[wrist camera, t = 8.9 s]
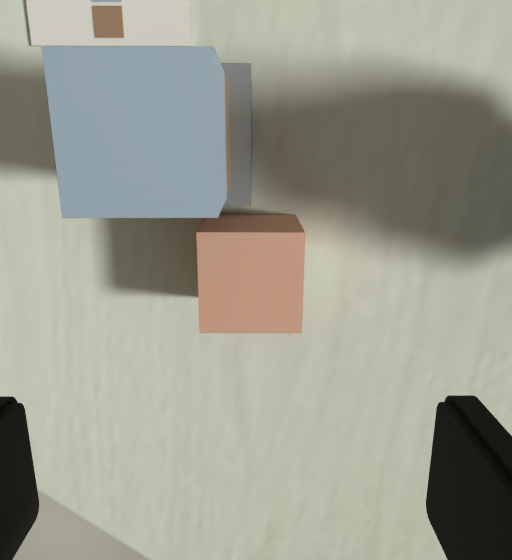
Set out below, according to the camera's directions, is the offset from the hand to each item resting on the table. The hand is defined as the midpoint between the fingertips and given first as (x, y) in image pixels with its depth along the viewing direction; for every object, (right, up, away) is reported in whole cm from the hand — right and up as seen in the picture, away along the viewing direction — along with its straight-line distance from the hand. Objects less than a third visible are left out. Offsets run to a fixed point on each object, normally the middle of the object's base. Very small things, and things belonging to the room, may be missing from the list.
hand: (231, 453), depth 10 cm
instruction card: (-8, +20, +15) cm, 27 cm away
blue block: (-4, +11, +11) cm, 16 cm away
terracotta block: (0, +5, +20) cm, 21 cm away
